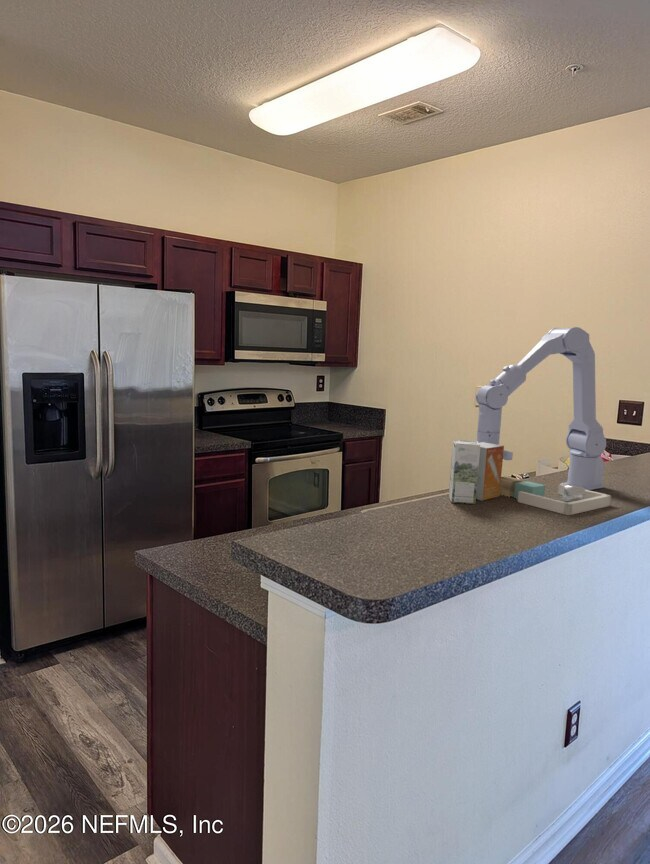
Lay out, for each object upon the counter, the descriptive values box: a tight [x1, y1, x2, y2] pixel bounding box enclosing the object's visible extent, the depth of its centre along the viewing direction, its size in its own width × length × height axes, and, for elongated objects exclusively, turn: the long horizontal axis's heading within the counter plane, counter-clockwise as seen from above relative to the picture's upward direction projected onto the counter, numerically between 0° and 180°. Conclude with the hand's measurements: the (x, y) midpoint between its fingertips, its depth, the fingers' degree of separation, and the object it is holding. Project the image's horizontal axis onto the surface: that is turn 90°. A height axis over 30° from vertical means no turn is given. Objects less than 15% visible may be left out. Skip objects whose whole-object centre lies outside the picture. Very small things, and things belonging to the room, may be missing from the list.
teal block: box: [513, 480, 546, 500], centre depth 150 cm, size 5×5×4 cm
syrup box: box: [448, 439, 480, 505], centre depth 144 cm, size 6×6×14 cm
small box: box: [476, 442, 505, 501], centre depth 150 cm, size 8×6×13 cm
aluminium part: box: [561, 484, 585, 503], centre depth 149 cm, size 5×5×4 cm
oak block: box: [499, 475, 523, 498], centre depth 155 cm, size 5×5×4 cm
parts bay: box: [517, 483, 612, 516], centre depth 147 cm, size 18×13×2 cm
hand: (484, 482), depth 161 cm, fingers closed
